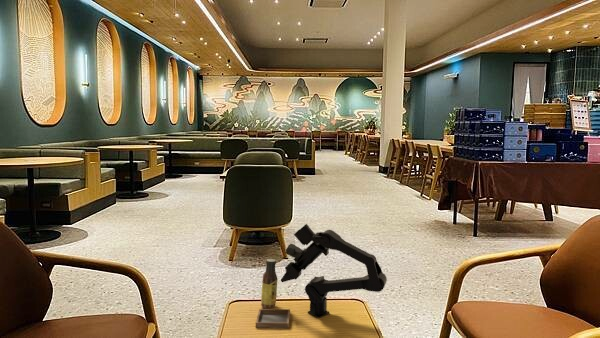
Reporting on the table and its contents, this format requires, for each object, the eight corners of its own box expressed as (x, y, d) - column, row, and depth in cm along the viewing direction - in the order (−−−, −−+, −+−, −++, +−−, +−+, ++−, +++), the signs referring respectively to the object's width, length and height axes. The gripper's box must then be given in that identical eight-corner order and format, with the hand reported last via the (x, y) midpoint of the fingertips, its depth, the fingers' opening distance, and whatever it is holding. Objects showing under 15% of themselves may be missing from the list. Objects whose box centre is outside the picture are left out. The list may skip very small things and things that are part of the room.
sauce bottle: (273, 310, 185) (276, 263, 183) (259, 308, 187) (261, 261, 184) (277, 304, 192) (280, 258, 189) (263, 302, 193) (265, 257, 190)
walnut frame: (259, 313, 182) (259, 309, 182) (290, 313, 182) (290, 309, 182) (255, 327, 170) (255, 322, 170) (288, 328, 170) (288, 323, 170)
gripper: (304, 233, 191) (279, 256, 195) (290, 244, 173) (263, 269, 178) (322, 252, 189) (297, 275, 194) (309, 266, 172) (282, 291, 176)
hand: (285, 277), depth 185 cm, fingers open, 9 cm apart
